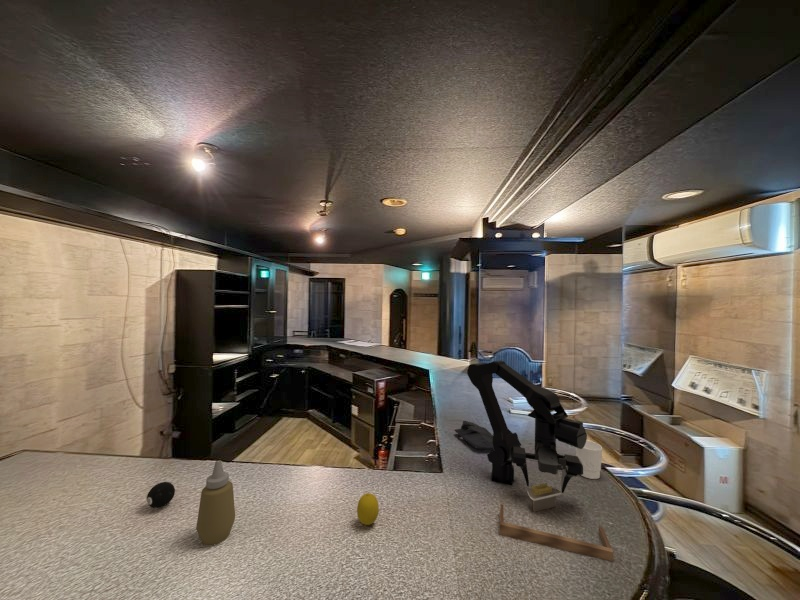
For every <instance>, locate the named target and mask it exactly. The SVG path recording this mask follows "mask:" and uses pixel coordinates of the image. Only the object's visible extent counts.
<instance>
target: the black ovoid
mask: <svg viewBox="0 0 800 600" xmlns="http://www.w3.org/2000/svg"><path fill="white" fill-rule="evenodd" d="M175 493H176V488H175V486H174V485H173V483H171V482H169V481H162V482H159V483H156V484H155V485H154V486H152V488H150V490H148V493H147V495H146V503H147V504H148V506H149V507H150V508H153V509H161V508H163V507H166V506H167V505H169V504H170V503H171V502H172V500H173V499H174V497H175Z"/></svg>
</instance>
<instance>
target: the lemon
mask: <svg viewBox="0 0 800 600" xmlns="http://www.w3.org/2000/svg"><path fill="white" fill-rule="evenodd" d="M379 506H380V505H379V500H378V499H377V497H376V496H375V495H374V494H373V493H372V492H371V493H370V492H367V493H364V494H363V495H362V496H361V497H360V498H359V499H358V503H357V507H356V513H357V518H358V521H359V522H360V523H361V524H362V525H365V526H369V525H371V524H373V523H375V522H376V520H377V518H378V515H379V510H380V509H379V508H380V507H379Z"/></svg>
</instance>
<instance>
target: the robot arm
mask: <svg viewBox="0 0 800 600" xmlns="http://www.w3.org/2000/svg"><path fill="white" fill-rule="evenodd" d="M466 372H467V376H468V378H469V381H470V382H471V384H472V385H473V386H474V387H475V388H476V389H477V390H478V392H479V395H480V398H481V401H482V404H483V407H484V410H485V412H486V415H487V418H488V421H489V424H490V427H491V429H492V432H493V433H492V435H493V442H492V443H493V447H494V449H492V451H490V452H489V453H487V454H486V456H487V460H488V462H490V463H491V478H490V479H491V482H493V483H498V484H504V485H507V486H513V482H514V481H515V466H516V467H519V468H520V469H521V471H522V475H523V477H524V481H525V484H526V486H527V487H529V485H530V483H529V481H530V480H529V473H528V465H527V461H532V462H536V463H537V466H538V471H539V472H541V473H549V474H552V475H557V474H558V473H559V471H561V480H560V481H561V482H560V492H561V494H564V493H565V490H566V488H567V486H568V484H569V481H570V480H571V479H572V478H573V477H578V475H579V476H582V475H583V465H582V463H581V461H580V459H579V458H578V457H577V456H576V455H571V454H564V455H562V454H560V453H558V450H557V441H558V442H561V443H563V444H566V445H569V446H572V447H574V448H576V447H577V448H579V449H582V448H583V447H584V446H585V444H586V440H587V439H588V433H587V431H586V428H585V427H584V423H583V422H582V421H578V420H573V419H571V418H568V417H569V415H568V414H567V412H566V410H565V409H564V407H563V406H562V404H561V401H560V399H559V398H560V397H559V396H558V395H557V394H556V392H553V391H552V390H549V389H547V388H546V387H542V386H540V385H537V384H535V383H533V382H531V381H530V380H529V379H527V378H526V377H524V376H523V375H522V374H520V373H519V372H517V371H516V370H515V369H513V368H512V367H511V366H509V365H508V364H506V362H505V361H504V360H494V361H492V362H488V363H487V362H477V363H471V364H469V365H468V367H467V370H466ZM493 374H495V375H497V376H498V377H500V378H501V380H503V381H504V382H505V383H507V384H508V385H510V387H512V388H513V389H515V390H516V391H517V392H518V393H520V394H521V395H522V396H523V397H524V398H525V400H526V402H527V404H528V405H529V406H530V407H531V408H532V411H531V412H529V413H528V414H527V416H528V417H529V418H532V419H534V453H532V452H526V448H525V447H521V446H522V443H521V441H520V439H519V436H518V433H517V432H512V431H511V430H510V429H509V427H508V425H507V423H506V420H505V418H504V417H505V416H504V414H503V412H502V409H501V407H500V404H499V401H498V398H497V395H496V393H495V391H494V388H493V379H494V375H493ZM552 412H555V413H552ZM513 464H515V466H514V465H513Z"/></svg>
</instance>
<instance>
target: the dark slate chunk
mask: <svg viewBox="0 0 800 600" xmlns="http://www.w3.org/2000/svg"><path fill="white" fill-rule="evenodd" d="M454 431H455V433H457V435H458V436H459V437H461V439H464V440H465V441H466V442H467V443H468V444H469V445H471V446H472V447H473V448H474V449H477V450H480V449H481V450H494V447H493V443H492V442H493V433H491V432H490V431H489V430H488V429H487V428H486V427H483V426H480V425H478V424H476V423H475V422H472V421H467V420H463V421H462V425H461V427H460V428H456V429H454Z"/></svg>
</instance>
